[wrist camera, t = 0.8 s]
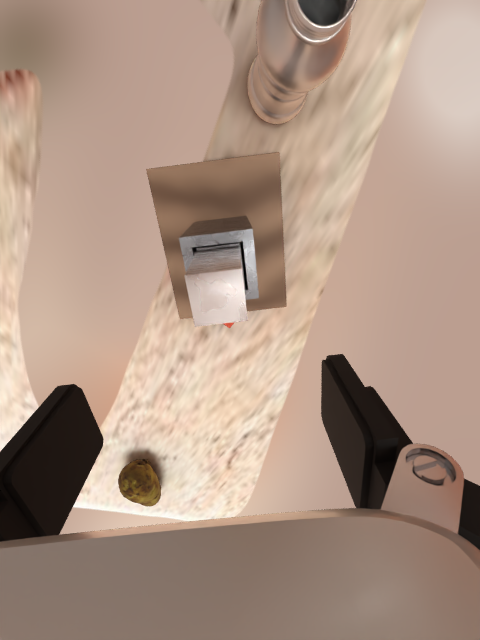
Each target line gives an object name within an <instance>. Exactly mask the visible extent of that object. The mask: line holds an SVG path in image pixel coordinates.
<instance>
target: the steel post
mask: <svg viewBox="0 0 480 640" xmlns="http://www.w3.org/2000/svg"><path fill="white" fill-rule="evenodd" d="M196 249H197V252H194V258H193V260H192V262H191V263H190V265H189V267H188V269H187V271H186V273H185V275H184V276H185V281H186V286H187V290H188V295H189V300H190V305H191V310H192V315H193V320H194V325H195V327H197V326H206V325H215V324H223V323H232V322H241V321H248V317H247V308H246V299H245V283H244V274H243V265H242V256H241V247H240V242H233V243H225V244H216V245H208V246H200V247H199V248H196Z"/></svg>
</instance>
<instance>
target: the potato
mask: <svg viewBox="0 0 480 640" xmlns="http://www.w3.org/2000/svg"><path fill="white" fill-rule="evenodd" d="M149 464H150V462H149V461H148V460H147V459H146V460H145V459H143V460H136V461H133V462H130V464H128V465H126V466H125V467H124V468H123V469H122V471H121V473H120V475H119V479H118V484H119V489H120V492H121V493H122V495H123V496H124V497H125V498H127V499H128V500H130V501H132V502H135V503H139V504H141V505H144V506H153V505H155V504H156V503H157V502H158V501H159V499H160V496H161V486H160V483H159V480H158V477H157V475H156V473H155V472H154V471H153V469H152V467H151V466H150V465H149Z"/></svg>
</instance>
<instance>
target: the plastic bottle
mask: <svg viewBox="0 0 480 640" xmlns="http://www.w3.org/2000/svg"><path fill="white" fill-rule="evenodd" d="M356 1H357V0H261V3H260V6H259V10H258V17H257V29H256V36H257V48H258V55H257V56H256V58H255V59H254V61H253V63H252V65H251V68H250V71H249V74H248V81H247V90H248V96H249V100H250V102H251V105H252V107H253V109H254V111H255V112H256V114H257V115H258V116H259V117H260V118H261V119H263V120H264V121H266V122H268V123H272V124H281V123H286V122H288V121H290V120H292V119H293V118H294V117H295V116H296V115H297V114H298V113H299V112H300V111H301V109H302V107H303V105H304V103H305V101H306V98H307V95H308V92H309V91H310V90H312V89H314V88H316V87H318V86H319V85H320V84H322V83H323V82H324V81H325V80H327V79H328V78H329V77H330V76H331V75H332V74H333V72H334V71H335V70H336V69H337V67H338V65H339V64H340V62H341V60H342V58H343V55H344V53H345V50H346V47H347V43H348V39H349V34H350V28H351V12H352V10H353V9H354V7H355V4H356Z"/></svg>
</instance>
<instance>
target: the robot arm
mask: <svg viewBox="0 0 480 640" xmlns="http://www.w3.org/2000/svg"><path fill="white" fill-rule="evenodd" d="M321 411H322V412H321V414H322V420H323V424H324V427H325V429H326V432H327V434H328V437H329V440H330V442H331V445H332V447H333V450H334V453H335V455H336V457H337V460H338V463H339V465H340V468H341V471H342V473H343V476H344V478H345V481H346V483H347V486H348V489H349V491H350V493H351V496H352V499H353V501H354V504H355V506H356V508H349V509H324V510H311V511H298V512H285V513H274V514H263V515H253V516H242V517H231V518H220V519H210V520H199V521H189V522H179V523H170V524H159V525H150V526H139V527H129V528H119V529H109V530H100V531H90V532H81V533H72V534H62V535H59V534H60V531H61V530H62V528H63V526H64V523H65V521H66V519H67V517H68V515H69V513H70V511H71V509H72V507H73V505H74V503H75V501H76V499H77V497H78V495H79V493H80V491H81V489H82V487H83V485H84V483H85V481H86V479H87V477H88V475H89V473H90V471H91V469H92V467H93V465H94V463H95V461H96V459H97V457H98V455H99V453H100V451H101V449H102V446H103V436H102V434H101V432H100V429H99V427H98V425H97V423H96V420H95V418H94V416H93V413H92V411H91V409H90V406H89V404H88V402H87V400H86V397H85V395H84V393H83V391H82V389H81V388H79V387H78V386H77V385H75V384H71V385H62V386H58V387H57V388H55V389H54V391H53V392H52V393H51V394H50V395H49V396H48V398H47V399H46V400H45V401H44V402H43V403H42V404H41V406H40V407H39V408H38V409H37V410H36V411H35V412H34V414H33V415H32V416H31V417H30V418H29V419H28V420H27V422H26V423H25V424H24V425H23V426H22V427H21V429H20V430H19V431H18V432H17V433H16V434H15V435H14V437H13V438H12V439H11V440H10V441H9V442H8V443H7V445H6V446H5V447H4V448H3V449H2V450H1V452H0V640H480V486H479V485H477V484H475V483H472V482H470V481H468V480H466V479H464V474H463V471H462V469H461V467H460V465H459V464H458V463H457V462H456V461H455V460H454V459H453V458H452V457H451V456H450V455H448V454H447V453H446V452H444V451H442V450H440V449H438V448H436V447H434V446H430V445H426V444H418V443H416V444H413V443H412V441H411V440H410V439H409V437H408V436H407V435H406V433H405V432H404V430H403V429H402V428H401V426H400V424H399V423H398V422H397V420H396V419H395V417H394V416H393V415H392V413H391V412H390V411H389V409H388V407H387V406H386V405H385V403H384V402H383V401H382V399H381V398H380V396H379V395H378V393H377V392H376V391H375V389H374V388H373V387H371V386H369V387H364V385H363V383H362V382H361V380H360V379H359V377H358V376H357V374H356V373H355V371H354V370H353V368H352V367H351V365H350V364H349V362H348V361H347V359H346V358H345V356H344V355H343V354H338V355H329V356H327V358H326V360H323V361H322V397H321Z"/></svg>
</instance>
